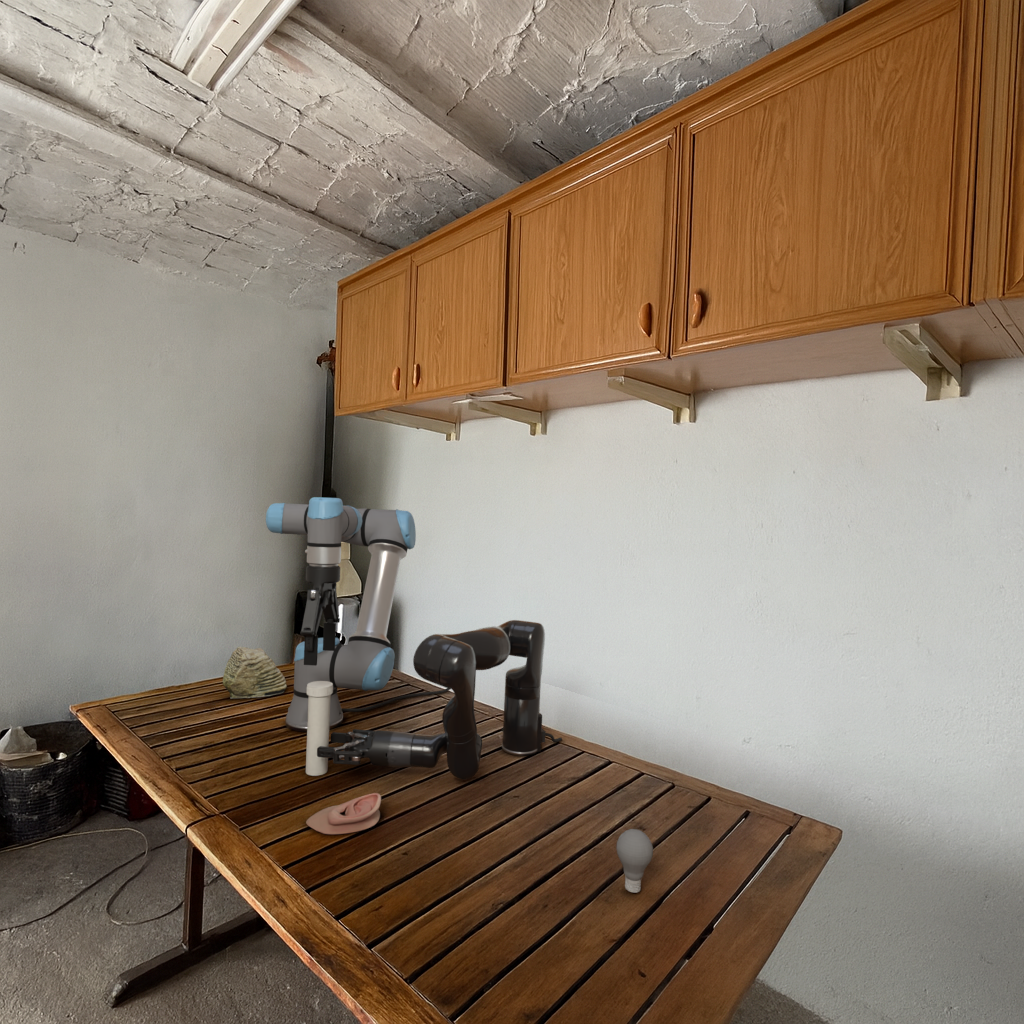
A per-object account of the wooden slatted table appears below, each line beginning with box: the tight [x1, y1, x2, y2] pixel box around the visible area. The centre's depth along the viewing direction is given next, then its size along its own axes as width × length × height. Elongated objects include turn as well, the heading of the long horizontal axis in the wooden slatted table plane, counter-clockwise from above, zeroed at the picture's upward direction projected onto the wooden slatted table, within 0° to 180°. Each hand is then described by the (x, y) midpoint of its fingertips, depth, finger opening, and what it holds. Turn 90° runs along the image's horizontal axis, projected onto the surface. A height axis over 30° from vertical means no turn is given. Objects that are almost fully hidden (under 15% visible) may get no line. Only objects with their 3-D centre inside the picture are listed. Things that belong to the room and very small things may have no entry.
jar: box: [305, 695, 331, 777], centre depth 146 cm, size 5×5×20 cm
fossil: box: [222, 646, 288, 699], centre depth 198 cm, size 9×18×15 cm, turn 132°
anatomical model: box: [305, 792, 382, 835], centre depth 124 cm, size 13×4×12 cm
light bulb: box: [615, 828, 654, 894], centre depth 106 cm, size 6×6×10 cm
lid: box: [307, 681, 333, 697], centre depth 146 cm, size 6×6×2 cm
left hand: (320, 657), depth 145 cm, fingers open, 13 cm apart
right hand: (324, 744), depth 145 cm, fingers open, 8 cm apart
